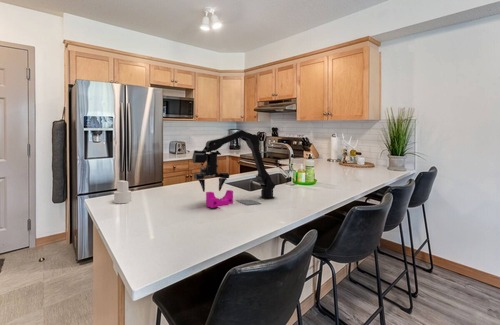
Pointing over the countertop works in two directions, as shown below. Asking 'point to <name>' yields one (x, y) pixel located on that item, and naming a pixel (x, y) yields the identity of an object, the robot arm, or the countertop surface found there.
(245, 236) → the countertop surface
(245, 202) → the mat
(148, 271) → the countertop surface
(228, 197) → the magenta arched bracket
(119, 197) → the cylinder with rectangular tab
